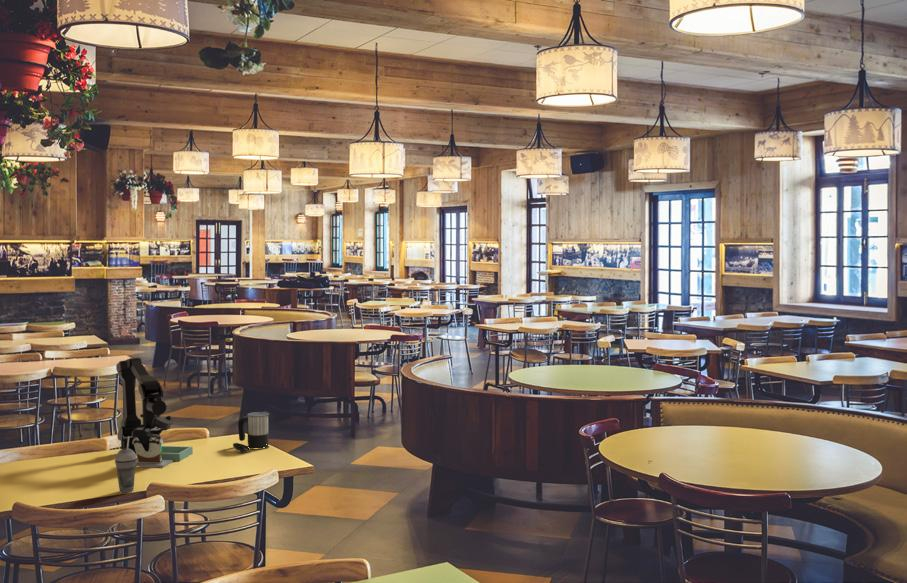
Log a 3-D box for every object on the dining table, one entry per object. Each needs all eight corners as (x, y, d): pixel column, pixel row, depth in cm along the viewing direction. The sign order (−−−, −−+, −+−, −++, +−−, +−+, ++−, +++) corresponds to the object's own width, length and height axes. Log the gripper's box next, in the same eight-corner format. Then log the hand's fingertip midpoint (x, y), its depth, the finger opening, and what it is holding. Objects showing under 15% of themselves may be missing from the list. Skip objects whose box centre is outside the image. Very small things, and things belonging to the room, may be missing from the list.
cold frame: (138, 459, 334) (138, 452, 333) (152, 452, 345) (152, 445, 345) (179, 461, 331) (179, 453, 331) (192, 453, 343) (192, 446, 343)
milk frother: (271, 444, 359) (270, 411, 358) (265, 453, 343) (264, 418, 342) (238, 445, 358) (238, 412, 357) (230, 454, 342) (230, 419, 342)
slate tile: (129, 466, 323) (129, 464, 323) (139, 461, 331) (139, 459, 331) (163, 467, 321) (163, 465, 321) (172, 462, 329) (172, 460, 329)
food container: (170, 456, 330) (168, 433, 327) (163, 463, 324) (160, 440, 322) (142, 455, 331) (139, 433, 329) (134, 462, 326) (131, 439, 323)
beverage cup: (119, 488, 293) (118, 434, 292) (140, 488, 294) (138, 433, 293) (112, 494, 286) (111, 438, 285) (133, 494, 286) (132, 438, 285)
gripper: (157, 416, 315) (158, 456, 316) (179, 407, 333) (180, 444, 334) (130, 415, 316) (131, 455, 317) (153, 406, 335) (154, 443, 335)
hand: (150, 449), depth 326 cm, fingers closed on food container, 6 cm apart
